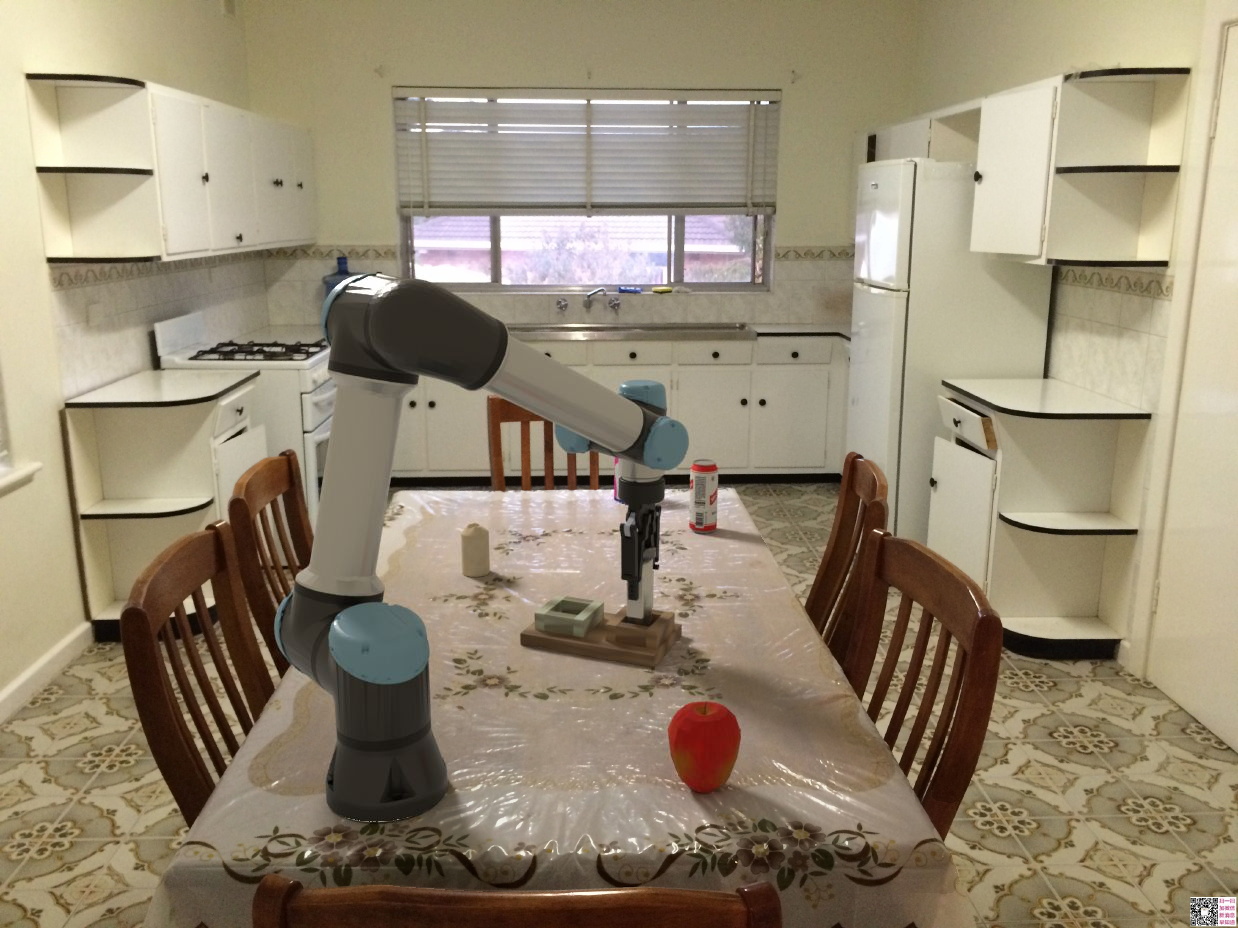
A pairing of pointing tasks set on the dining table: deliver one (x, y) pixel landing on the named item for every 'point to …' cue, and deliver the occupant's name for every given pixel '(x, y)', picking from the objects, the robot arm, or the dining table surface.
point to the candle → (475, 551)
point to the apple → (704, 744)
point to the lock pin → (646, 587)
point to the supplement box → (616, 481)
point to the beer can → (703, 496)
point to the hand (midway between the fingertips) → (639, 611)
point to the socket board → (601, 632)
